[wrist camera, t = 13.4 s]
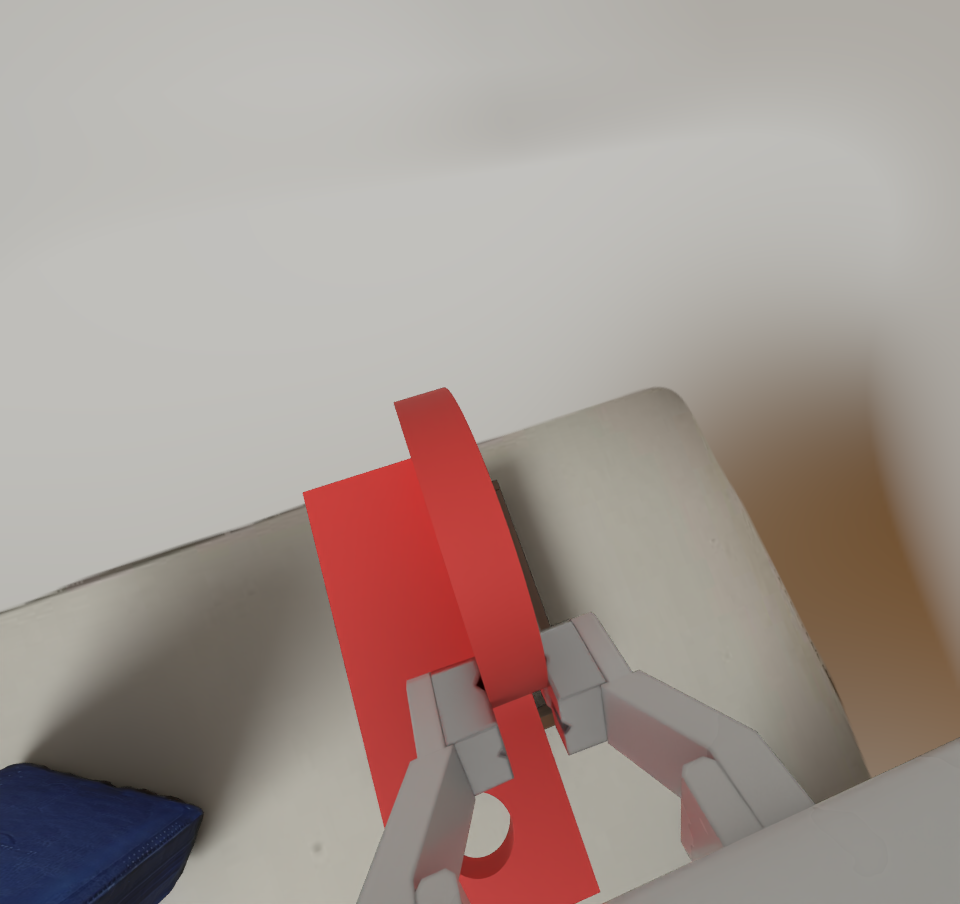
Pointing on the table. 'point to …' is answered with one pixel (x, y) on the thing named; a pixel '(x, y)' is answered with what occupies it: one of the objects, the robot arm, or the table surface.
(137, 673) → the table surface
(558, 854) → the bracket
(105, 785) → the blue rectangular case
